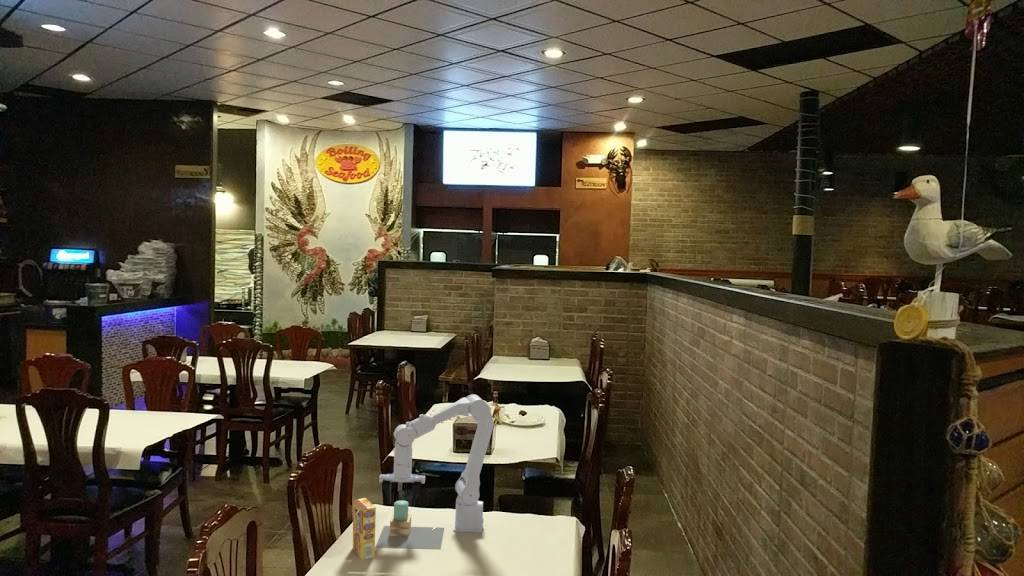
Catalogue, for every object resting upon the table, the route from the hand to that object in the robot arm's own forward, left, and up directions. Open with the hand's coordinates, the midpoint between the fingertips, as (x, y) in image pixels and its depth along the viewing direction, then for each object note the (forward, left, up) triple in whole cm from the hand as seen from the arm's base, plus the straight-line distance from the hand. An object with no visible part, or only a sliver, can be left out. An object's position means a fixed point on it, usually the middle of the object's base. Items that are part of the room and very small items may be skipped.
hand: (401, 504), depth 206 cm
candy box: (+9, +15, -10) cm, 20 cm away
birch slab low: (0, 0, -9) cm, 9 cm away
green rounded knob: (0, 0, -5) cm, 5 cm away
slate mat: (-4, +4, -10) cm, 11 cm away
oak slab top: (0, 0, -7) cm, 7 cm away
